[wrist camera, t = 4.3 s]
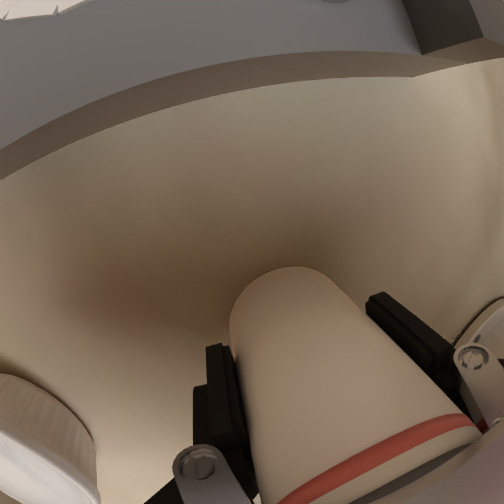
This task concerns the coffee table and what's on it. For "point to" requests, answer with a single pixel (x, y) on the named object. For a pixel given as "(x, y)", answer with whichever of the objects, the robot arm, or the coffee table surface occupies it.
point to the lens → (333, 396)
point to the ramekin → (43, 448)
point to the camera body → (207, 55)
